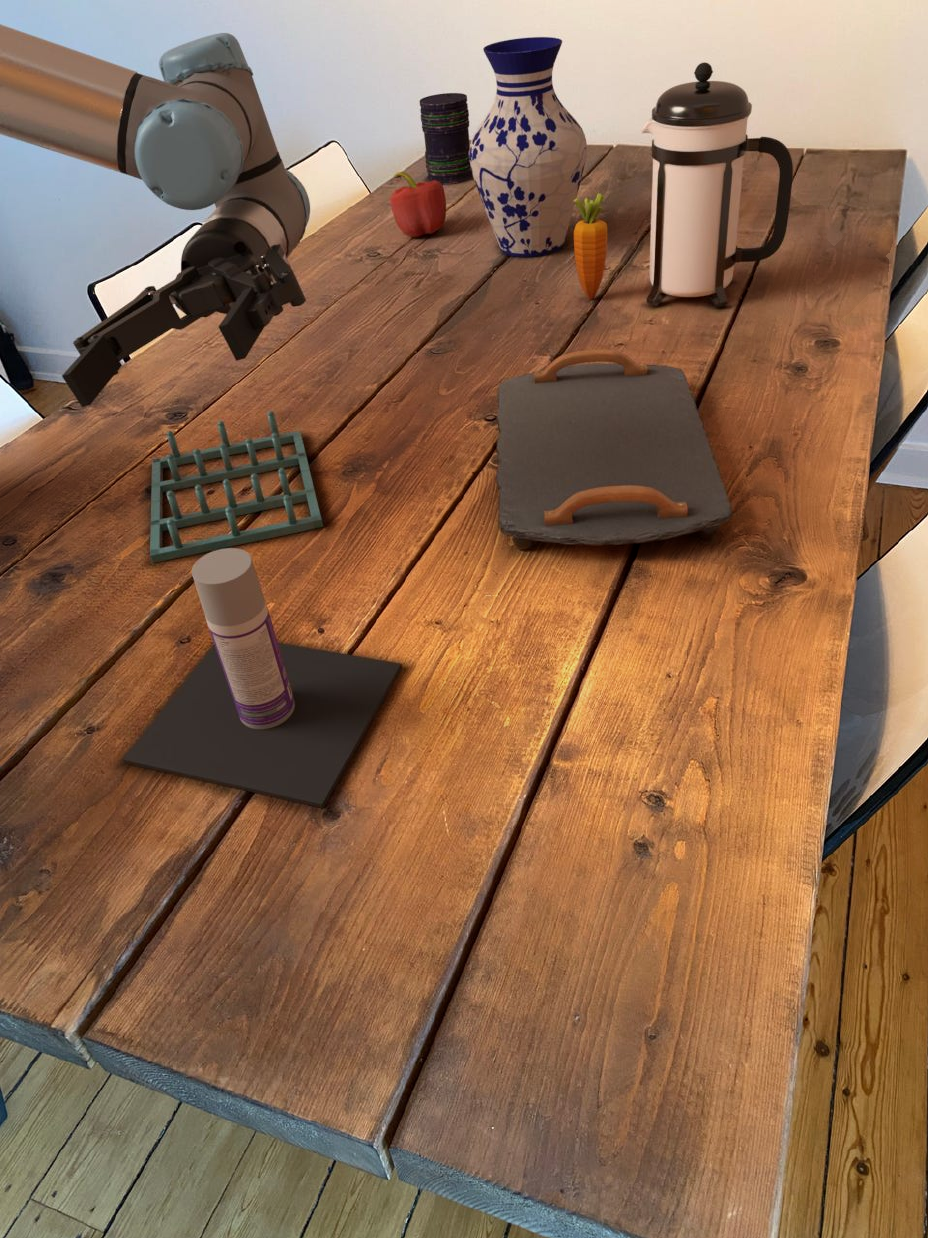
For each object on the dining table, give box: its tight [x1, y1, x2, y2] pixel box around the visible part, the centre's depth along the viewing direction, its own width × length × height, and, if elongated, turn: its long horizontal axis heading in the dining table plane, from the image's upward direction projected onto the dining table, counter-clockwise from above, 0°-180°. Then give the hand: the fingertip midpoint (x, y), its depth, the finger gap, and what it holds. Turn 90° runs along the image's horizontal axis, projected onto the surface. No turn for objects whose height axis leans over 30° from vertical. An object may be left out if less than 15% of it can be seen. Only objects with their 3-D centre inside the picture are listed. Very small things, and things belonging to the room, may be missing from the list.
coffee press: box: [640, 62, 794, 309], centre depth 130 cm, size 17×16×30 cm
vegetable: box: [390, 171, 447, 238], centre depth 170 cm, size 11×10×10 cm
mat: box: [122, 642, 403, 809], centre depth 79 cm, size 18×16×1 cm
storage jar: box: [418, 92, 474, 185], centre depth 195 cm, size 10×10×15 cm
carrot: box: [573, 192, 608, 301], centre depth 137 cm, size 5×5×15 cm
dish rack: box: [149, 410, 324, 564], centre depth 106 cm, size 18×21×4 cm
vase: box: [469, 36, 588, 258], centre depth 153 cm, size 19×19×30 cm
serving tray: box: [495, 348, 733, 552], centre depth 104 cm, size 39×23×6 cm, turn 179°
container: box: [191, 547, 295, 729], centre depth 74 cm, size 5×5×15 cm
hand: (151, 367), depth 69 cm, fingers open, 13 cm apart
